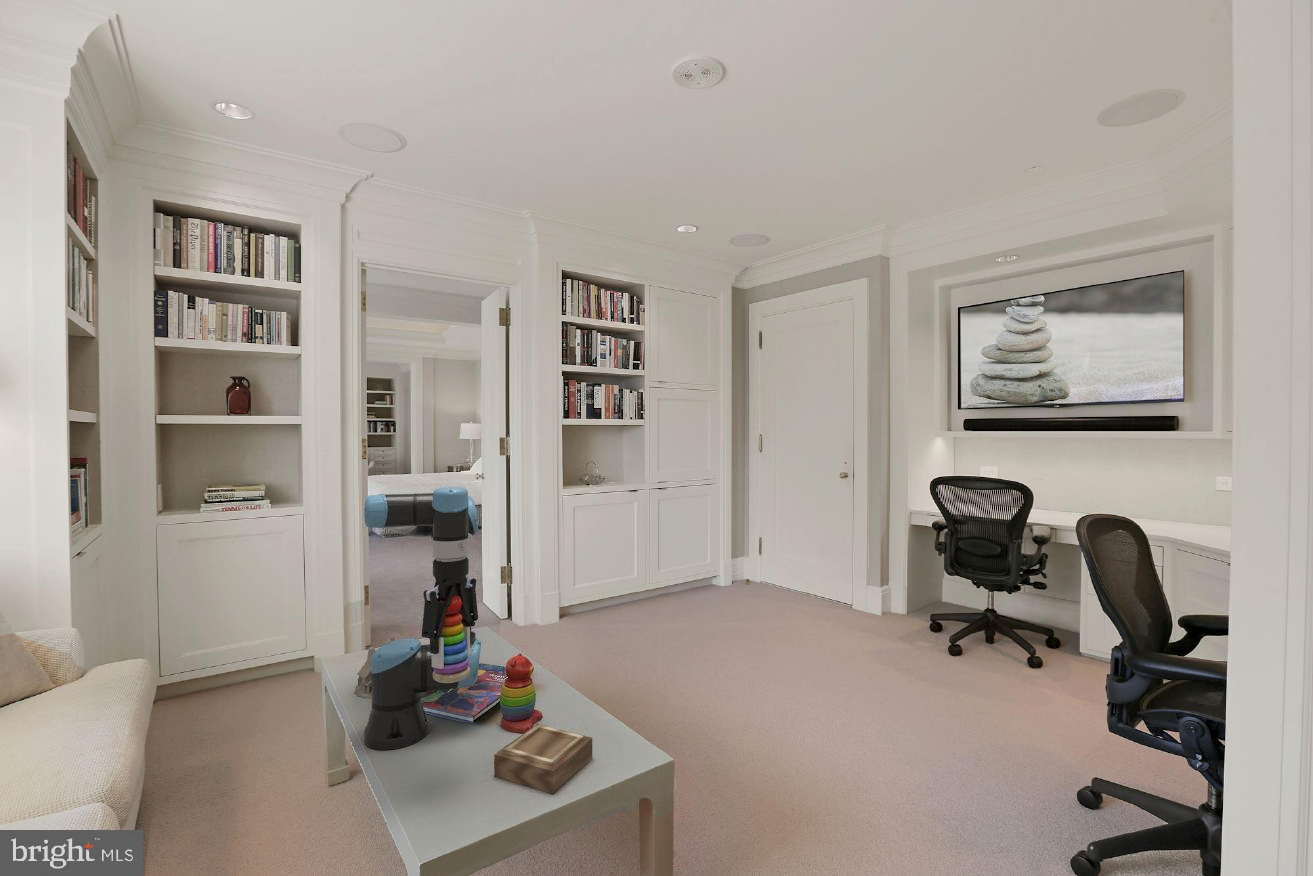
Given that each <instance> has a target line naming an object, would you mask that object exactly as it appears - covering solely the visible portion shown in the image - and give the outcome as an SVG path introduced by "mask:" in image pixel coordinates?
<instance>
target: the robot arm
mask: <svg viewBox="0 0 1313 876" xmlns="http://www.w3.org/2000/svg"><path fill="white" fill-rule="evenodd" d="M473 498H474V497H472V496H471V495H469V492H468V489H467V488H465V487H460V486H448V487H447V486H445V487H439V488H435V489H434V490H433V492H427V493H425V492H424V493H422V492H421V493H393V494H387V493H386V494H383V493H381V494H371V495H367V497H365V500H364V508H363V509H364V510H363V511H364V513H363V515H364V517H363V518H364V524H365V526H366V527H367V528H369V529H371V528H372V529H373V528H374V529H384V528H387V529H388V530H389V531H391V532H393V533H394V534H395V533H396V534H400V535H404V536H409V537H421V538H423V537H430V542H431V543H432V558H434V559H433V561H432V576H433V577H434V579H435V583H434V586H433V588H432V589H430V590H428V589H426V590H424V591H423V600H424V608H423V616H422V617H423V618H422V627H421V637H422V638H424V639H429V644H422V642H421V640H420V639H418V638H410V637H409V638H408V637H407V638H403V639H402V638H401V639H398V640H395V641H393V642H390V643H388V642H387V643H386V644H384V645H382V646H380V647H378V648H377V649H375V652H374V653H373V656H372V665H371V670H370V671H371V679H372V699H371V710H370V713H369V716H368V721H367V724H366V726H365V728H364V730H363V731H364V732H363V742H364V745H366V747H368V748H371V749H375V750H381V751H388V750H394V749H400V748H406V747H407V746H411V745H413V744H415V743H417V742H419V741H421V740H423V738H425V736H426V735H427V734H428V732H429V720H428V718H427V715H426V712H425V710H424V706H423V703H422V699H421V698H422V693H430V692H437V691H445V690H446V691H447V690H453V689H456V690H459V689H461V688H466V687H471V686H473V685H475V684H476V683H477V681H478V675H479V668H480V667H479V666H480V659H481V658H480V657H481V646H482V640H481V639H480V638H477V637H476V632H475V630H473V628H472V627H475V626H476V622H477V621H478V620H479V613H478V612H479V611H478V603H477V594H476V593H477V591H476V586H477V579H476V578H475V577H474V578H472V577H469V575H470V574H469V572H470V567H469V566H470V563H469V561H470V559H469V545H470V544H471V543H472V542H473V541H474V536H475V535H477V534H478V533H479V523H478V512H477V507H476V504H475V500H474V499H473ZM454 596H459V597H460V598H461V601H462V605H461V608H460V610H459V611H458V612H457V613H460V614H461V615H462V621H461V622H460V623H462V624H463V630H462V631H463V632H464V634H465V637H464V640H465V641H466V643H467V645H466V649H467V651H468V655H467V658H468V660H469V665H468V666H469V667H470V674H469V675H468V677H466V678H465V679H463V680H461V681H458V682H453V683H441V682H437V681H435V680H434V678H433V672H434V668H439V669H442V668H444V638H442V637H440V636H441V633H442V629H443V625H444V621H445V617H446V613H447V610H448V607H449V606H450V605H451V601H452V597H454ZM440 600H442V601H446V602H440ZM433 667H434V668H433Z"/></svg>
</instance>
